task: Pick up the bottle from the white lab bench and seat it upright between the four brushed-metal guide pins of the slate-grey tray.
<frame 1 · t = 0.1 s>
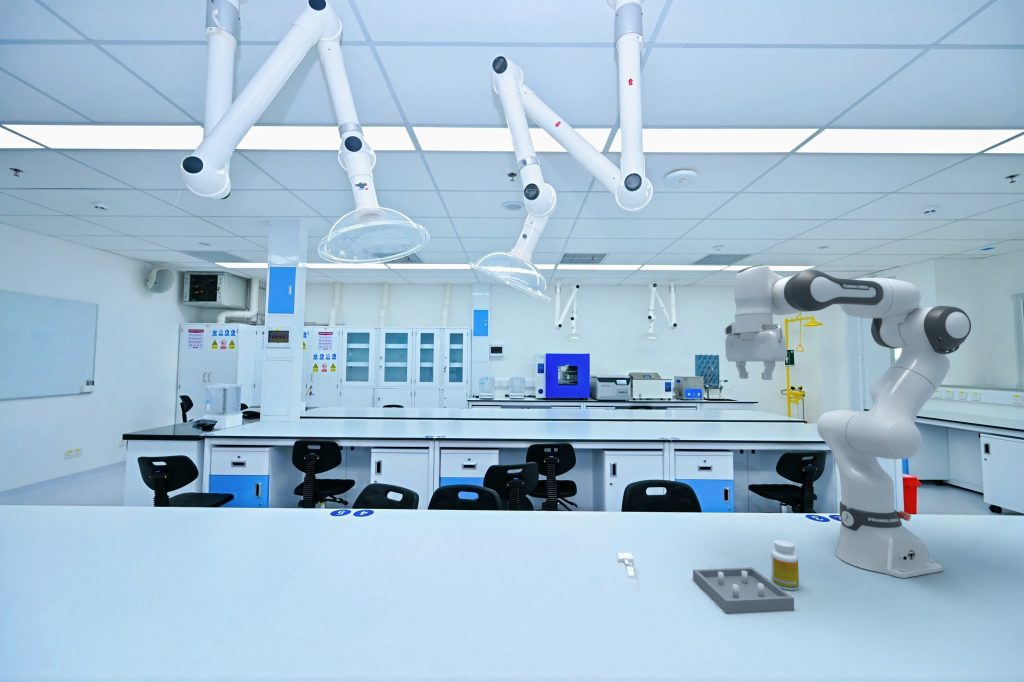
hand: (754, 379, 116), 48 cm above the table, fingers open, 8 cm apart
syringe: (631, 575, 109), on the table
supplement bottle: (785, 586, 103), on the table
pin tray: (740, 594, 99), on the table
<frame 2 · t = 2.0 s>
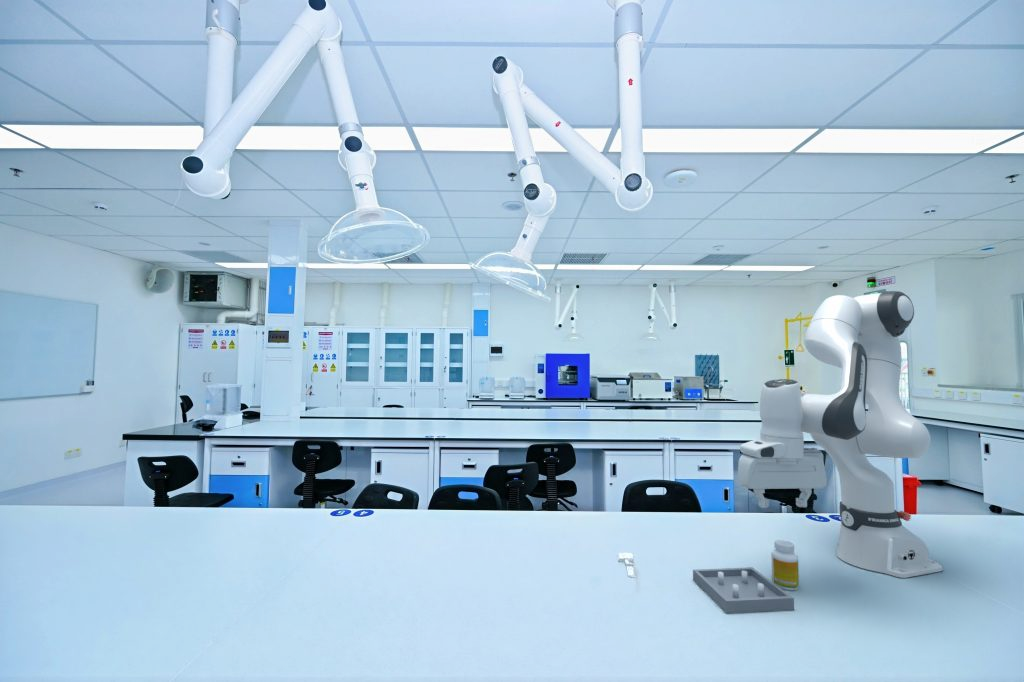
hand: (782, 507, 104), 18 cm above the table, fingers open, 8 cm apart
nothing on the table moved.
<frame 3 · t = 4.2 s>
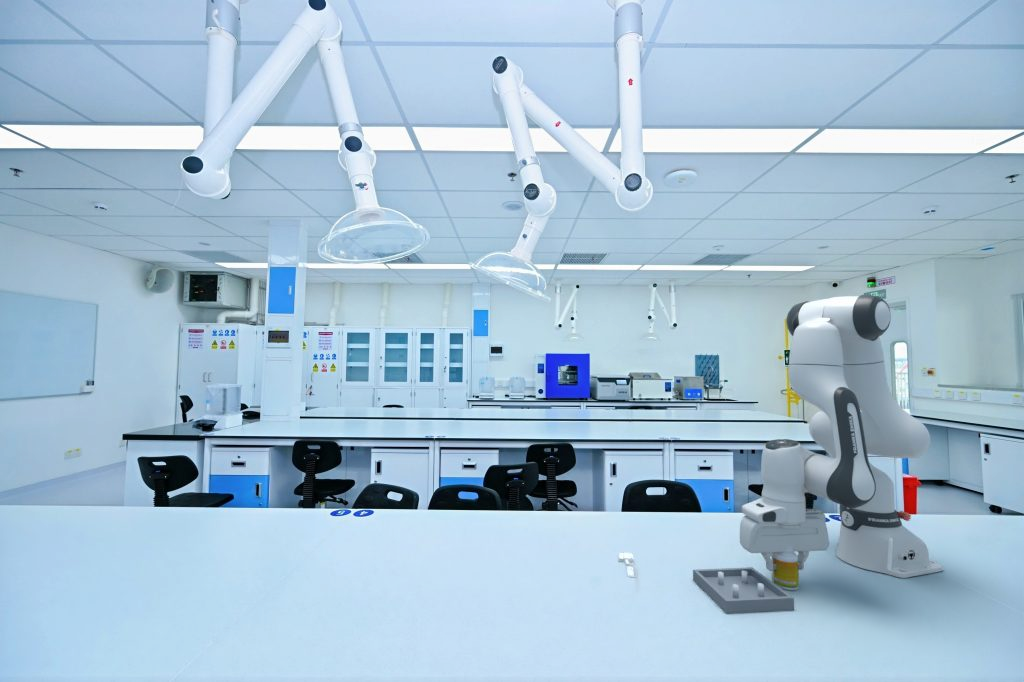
hand: (785, 569, 104), 4 cm above the table, fingers closed on supplement bottle, 5 cm apart
supplement bottle: (785, 586, 103), on the table, touching gripper
everything else where it was.
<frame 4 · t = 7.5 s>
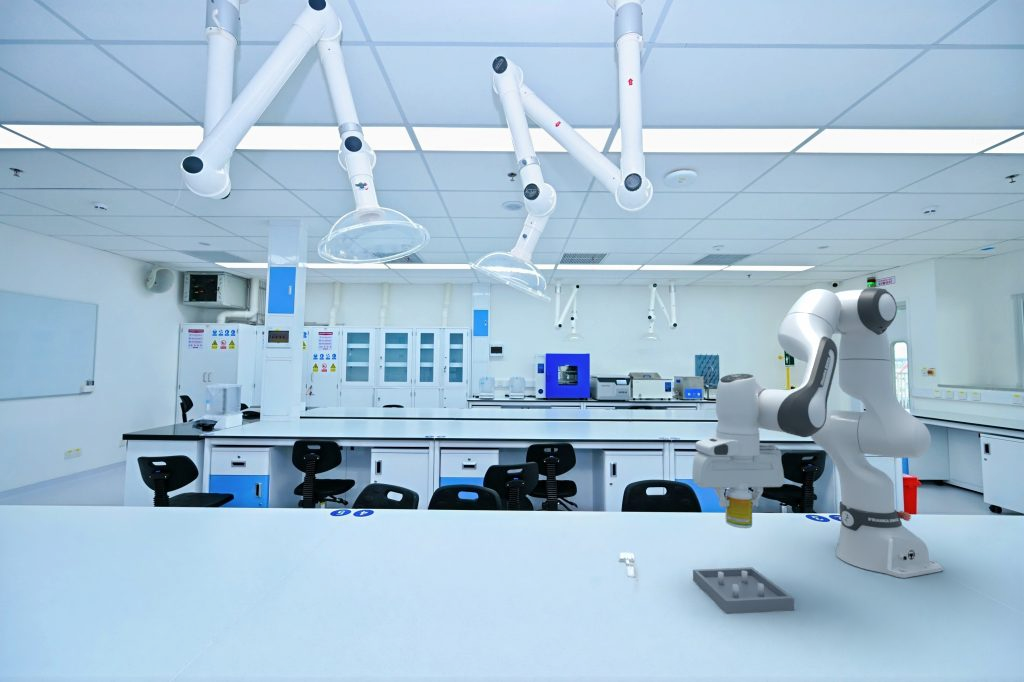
hand: (738, 506, 100), 19 cm above the table, fingers closed on supplement bottle, 5 cm apart
supplement bottle: (738, 525, 100), point 15 cm above the table, touching gripper
everything else where it was.
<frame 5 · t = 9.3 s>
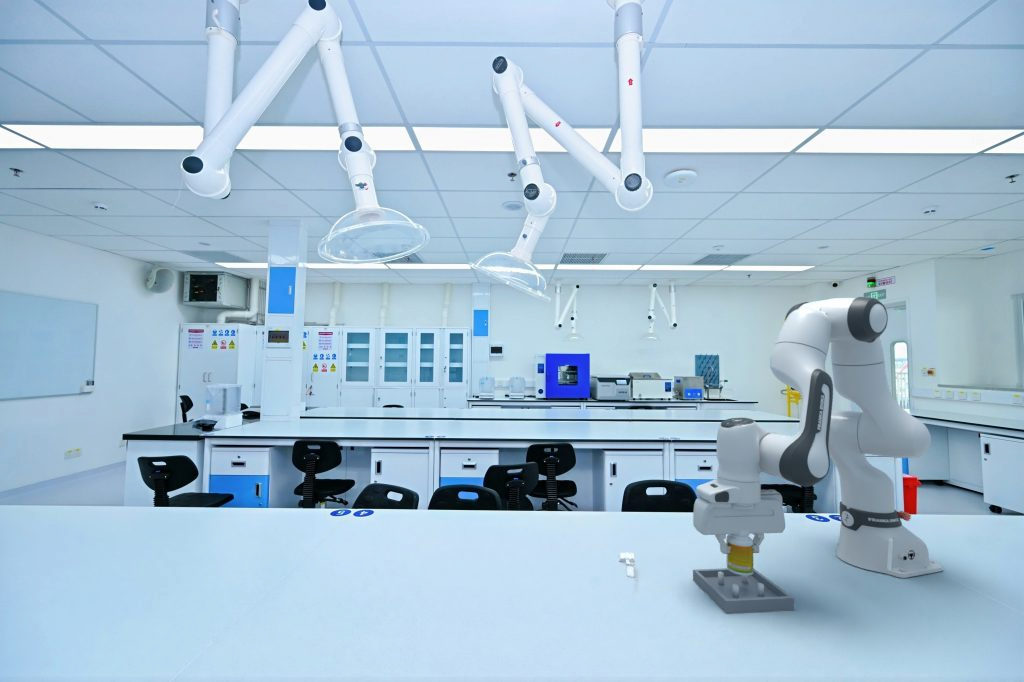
hand: (739, 552, 100), 9 cm above the table, fingers closed on supplement bottle, 5 cm apart
supplement bottle: (739, 571, 99), point 5 cm above the table, touching gripper
everything else where it was.
when the fingers open (6 cm above the table, at t = 10.9 s): supplement bottle stays where it is, resting on pin tray.
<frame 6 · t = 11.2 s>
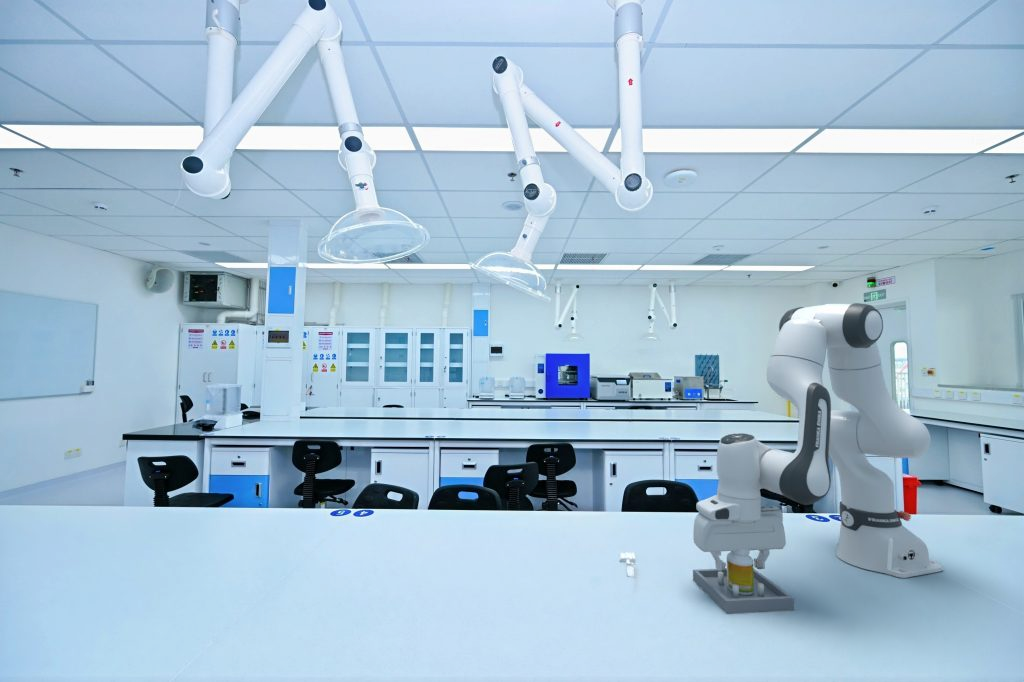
hand: (740, 568, 100), 6 cm above the table, fingers open, 8 cm apart
supplement bottle: (740, 590, 99), point 1 cm above the table, touching pin tray
everything else where it was.
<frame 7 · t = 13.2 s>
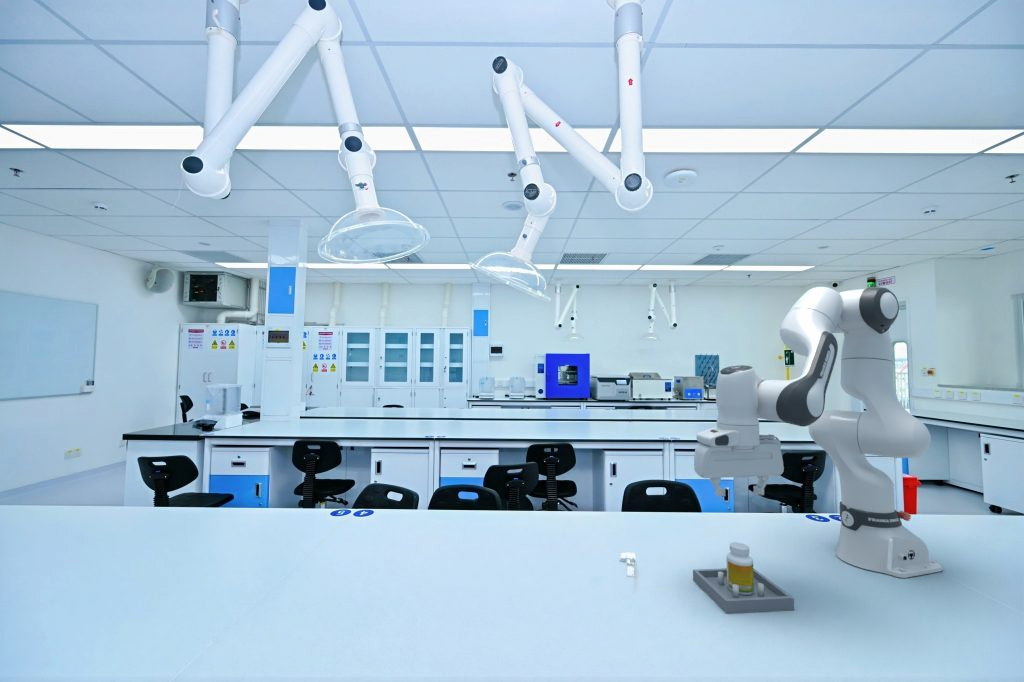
hand: (739, 495, 102), 21 cm above the table, fingers open, 8 cm apart
nothing on the table moved.
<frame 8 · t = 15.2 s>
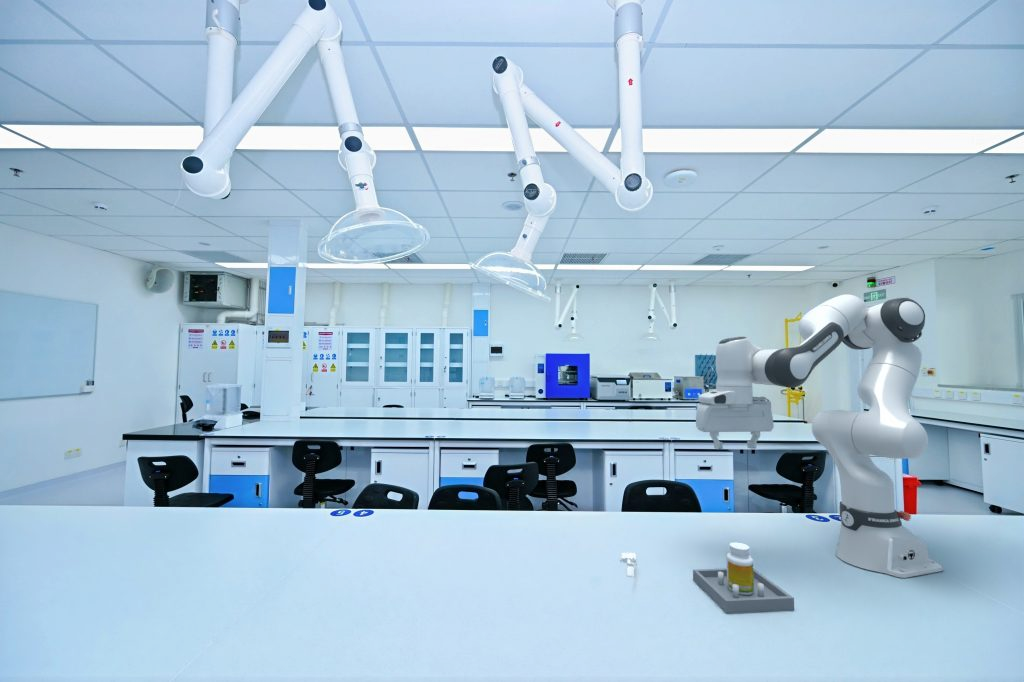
hand: (735, 448, 118), 29 cm above the table, fingers open, 8 cm apart
nothing on the table moved.
at the end: supplement bottle 0.0 cm off-centre on the pin tray, point 0.8 cm above the pin tray's base; supplement bottle tilted 0°; the gripper is holding nothing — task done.
